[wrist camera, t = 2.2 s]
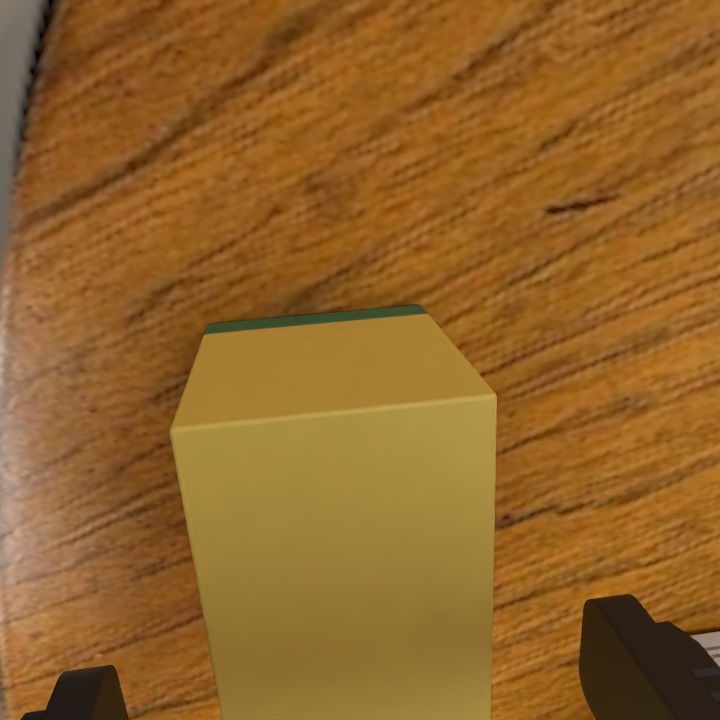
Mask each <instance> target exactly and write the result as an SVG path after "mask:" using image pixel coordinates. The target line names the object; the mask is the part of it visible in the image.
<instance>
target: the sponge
mask: <svg viewBox="0 0 720 720" xmlns="http://www.w3.org/2000/svg"><path fill="white" fill-rule="evenodd" d="M496 422H497V396H496V394H495V392H494V391H493V390H492V389H491V388H490V387H489V385H488V384H487V383H486V382H485V381H484V379H483V378H482V377H481V376H480V375H479V373H478V372H477V371H476V370H475V369H474V368H473V366H472V365H471V364H470V363H469V362H468V360H467V359H466V358H465V357H464V356H463V354H462V353H461V352H460V351H459V350H458V349H457V347H456V346H455V345H454V344H453V343H452V341H451V340H450V339H449V338H448V337H447V335H446V334H445V333H444V332H443V331H442V330H441V328H440V327H439V326H438V325H437V324H436V322H435V321H434V320H433V319H432V318H431V317H430V315H428V313H427V312H426V311H425V310H424V308H423V307H422V306H421V305H410V306H399V307H388V308H377V309H366V310H355V311H344V312H333V313H322V314H311V315H300V316H289V317H278V318H267V319H256V320H245V321H234V322H223V323H212V324H208V325H207V327H206V330H205V333H204V336H203V338H202V341H201V344H200V347H199V349H198V352H197V355H196V358H195V361H194V364H193V366H192V369H191V372H190V375H189V378H188V380H187V383H186V386H185V389H184V392H183V394H182V397H181V400H180V403H179V406H178V408H177V411H176V414H175V417H174V420H173V423H172V425H171V428H170V438H171V443H172V449H173V454H174V460H175V465H176V471H177V476H178V482H179V487H180V493H181V498H182V503H183V509H184V514H185V520H186V525H187V531H188V536H189V542H190V547H191V553H192V558H193V564H194V569H195V575H196V580H197V585H198V591H199V596H200V602H201V607H202V613H203V618H204V624H205V629H206V635H207V640H208V646H209V651H210V657H211V662H212V667H213V673H214V678H215V684H216V689H217V695H218V700H219V706H220V711H221V717H222V720H491V681H492V629H493V577H494V526H495V474H496Z"/></svg>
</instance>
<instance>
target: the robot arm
mask: <svg viewBox="0 0 720 720" xmlns="http://www.w3.org/2000/svg"><path fill="white" fill-rule="evenodd" d="M579 674H580V680H581V685H582V689H583V692H584V695H585V698H586V700H587V703H588V705H589V707H590V709H591V711H592V712H593V714H594V716H595V718H596V720H720V667H719V666H718V664H717V663H716V662H715V661H714V660H713V659H712V657H711V656H710V655H709V654H708V653H707V651H706V650H705V649H704V648H703V647H702V645H701V644H700V643H699V642H698V641H696V640H695V639H693V638H692V637H691V636H689V635H688V634H686V633H685V632H683V631H682V630H680V629H679V628H678V627H676V626H675V625H673V624H672V623H670V622H669V621H666V622H659V623H655V622H654V620H653V619H652V618H651V617H650V615H649V614H648V613H647V611H646V610H645V609H644V608H643V606H642V605H641V604H640V602H639V601H638V600H637V599H636V598H635V597H634V596H632V595H630V594H624V595H617V596H610V597H603V598H596V599H589V600H587V601H586V602H585V604H584V609H583V620H582V633H581V646H580V659H579ZM20 720H129V719H128V715H127V711H126V707H125V703H124V699H123V694H122V690H121V686H120V682H119V678H118V674H117V671H116V669H115V667H114V666H113V665H107V666H99V667H92V668H85V669H78V670H71V671H65V672H63V673H62V674H61V675H60V677H59V679H58V681H57V683H56V686H55V688H54V691H53V693H52V695H51V698H50V700H49V703H48V705H47V708H46V710H43V711H36V712H29V713H26V714H25V715H24V716H23V717H22V718H21V719H20Z"/></svg>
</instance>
